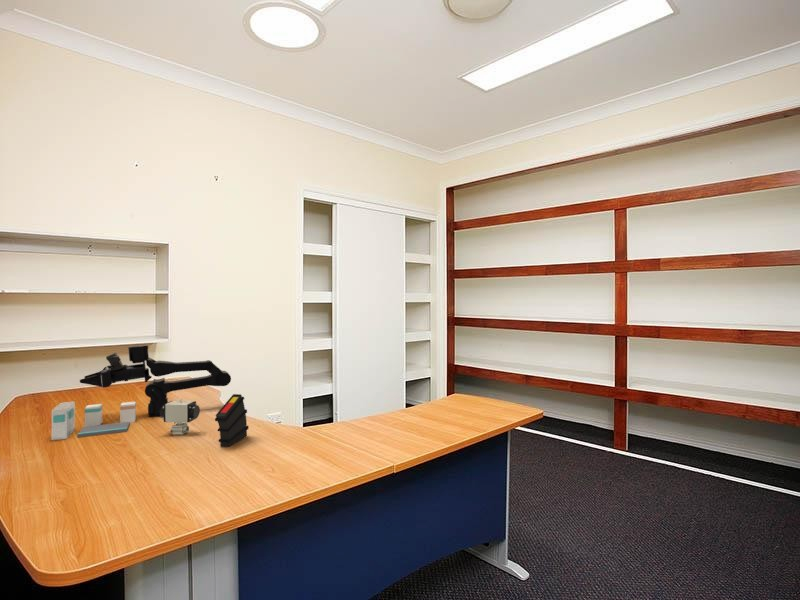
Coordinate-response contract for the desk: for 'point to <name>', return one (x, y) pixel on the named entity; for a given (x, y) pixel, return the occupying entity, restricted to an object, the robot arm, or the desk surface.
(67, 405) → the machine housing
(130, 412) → the light grey boxy piece
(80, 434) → the plate
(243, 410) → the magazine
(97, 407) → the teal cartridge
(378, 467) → the desk surface
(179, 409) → the pneumatic valve
